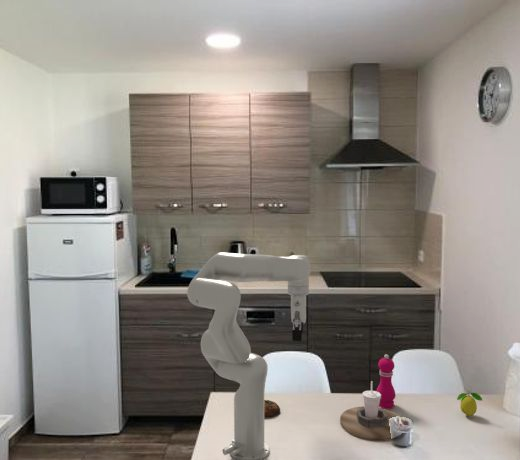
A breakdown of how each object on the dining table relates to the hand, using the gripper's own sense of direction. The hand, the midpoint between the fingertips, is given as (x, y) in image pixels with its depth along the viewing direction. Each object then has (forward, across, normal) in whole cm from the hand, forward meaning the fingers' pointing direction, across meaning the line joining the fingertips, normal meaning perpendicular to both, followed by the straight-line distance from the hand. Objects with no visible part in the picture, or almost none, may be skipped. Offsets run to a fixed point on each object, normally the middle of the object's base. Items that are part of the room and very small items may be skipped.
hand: (297, 336), depth 174 cm
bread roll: (+31, +4, +12) cm, 33 cm away
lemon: (+30, +9, -62) cm, 70 cm away
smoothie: (+28, -2, -26) cm, 39 cm away
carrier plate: (+30, -2, -26) cm, 40 cm away
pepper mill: (+30, +14, -33) cm, 47 cm away
